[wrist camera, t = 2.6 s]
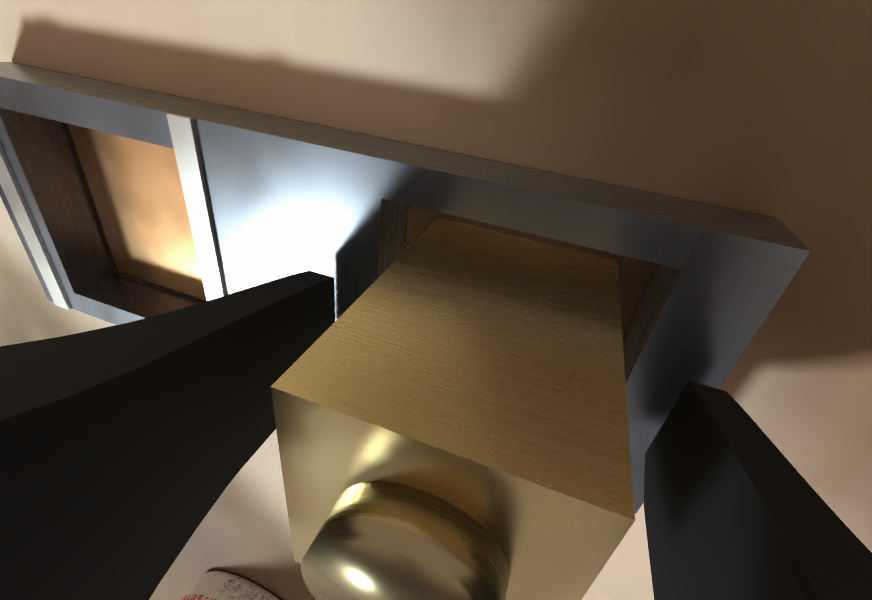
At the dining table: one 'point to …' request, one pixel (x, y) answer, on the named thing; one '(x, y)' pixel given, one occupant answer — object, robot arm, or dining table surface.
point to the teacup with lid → (226, 588)
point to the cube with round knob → (462, 427)
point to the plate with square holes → (348, 222)
